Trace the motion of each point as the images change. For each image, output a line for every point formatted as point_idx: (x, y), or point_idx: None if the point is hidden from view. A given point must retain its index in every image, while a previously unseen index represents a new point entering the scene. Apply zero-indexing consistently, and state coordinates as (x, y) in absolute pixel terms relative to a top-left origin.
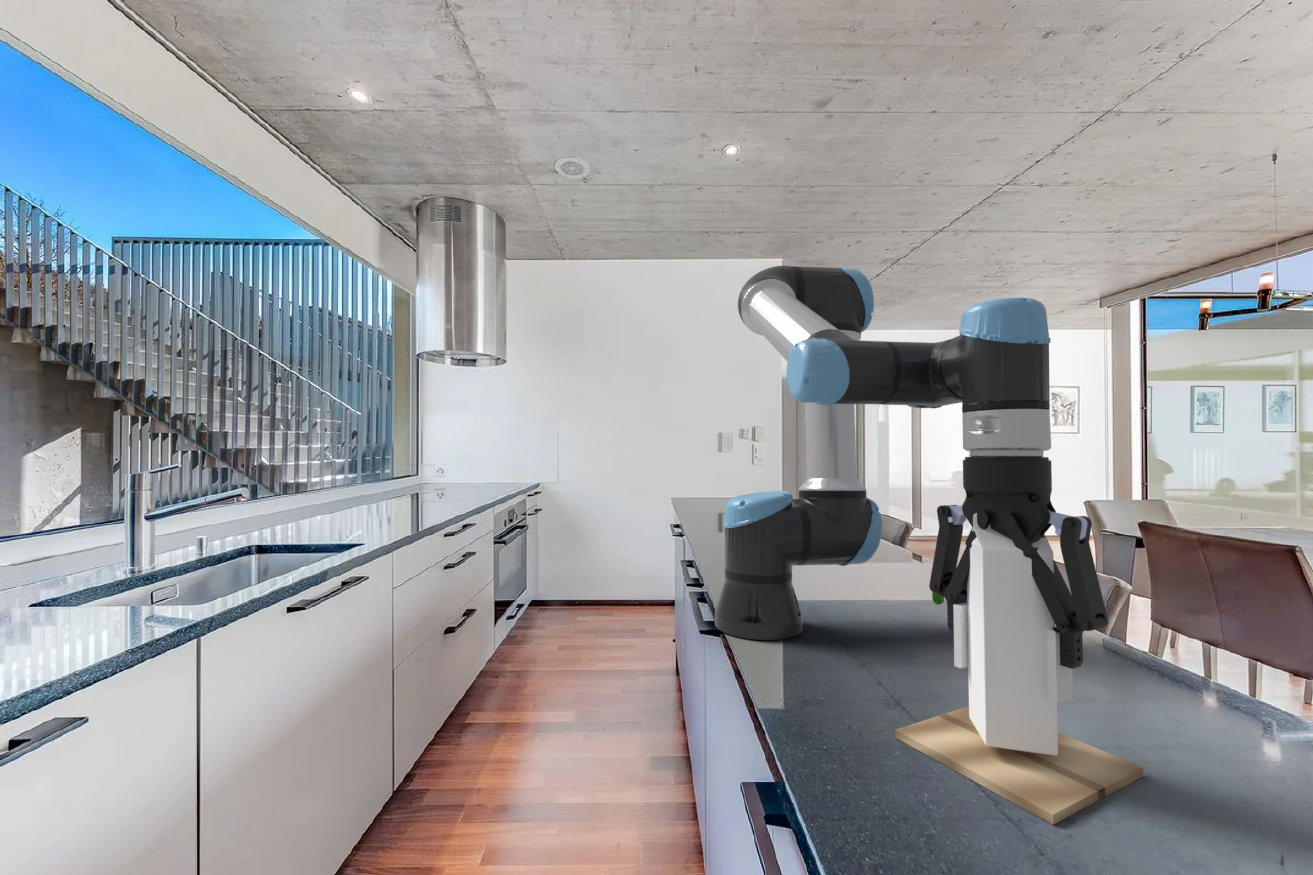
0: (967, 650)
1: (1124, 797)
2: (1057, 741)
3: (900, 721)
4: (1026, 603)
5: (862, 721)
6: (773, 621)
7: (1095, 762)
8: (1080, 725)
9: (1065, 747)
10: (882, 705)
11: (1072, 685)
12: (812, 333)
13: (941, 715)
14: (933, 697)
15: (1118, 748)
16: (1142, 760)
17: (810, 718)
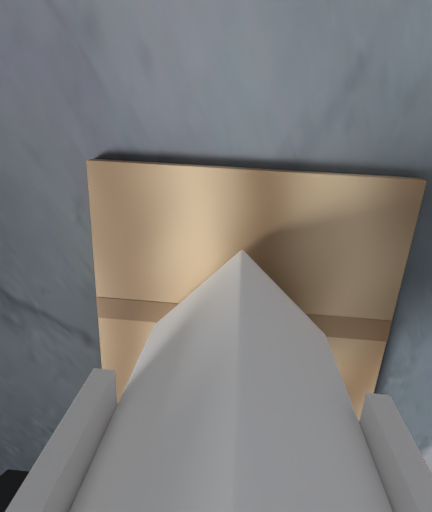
0: (98, 445)
1: (407, 287)
2: (331, 350)
3: (71, 357)
4: None
5: (48, 405)
6: None
7: (356, 243)
8: (257, 23)
9: (298, 230)
10: (8, 331)
11: (404, 424)
12: None
13: (100, 311)
14: (10, 207)
15: (355, 81)
16: (404, 97)
17: (12, 456)
